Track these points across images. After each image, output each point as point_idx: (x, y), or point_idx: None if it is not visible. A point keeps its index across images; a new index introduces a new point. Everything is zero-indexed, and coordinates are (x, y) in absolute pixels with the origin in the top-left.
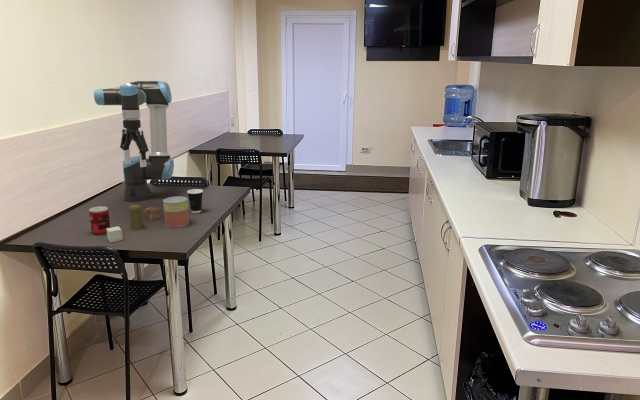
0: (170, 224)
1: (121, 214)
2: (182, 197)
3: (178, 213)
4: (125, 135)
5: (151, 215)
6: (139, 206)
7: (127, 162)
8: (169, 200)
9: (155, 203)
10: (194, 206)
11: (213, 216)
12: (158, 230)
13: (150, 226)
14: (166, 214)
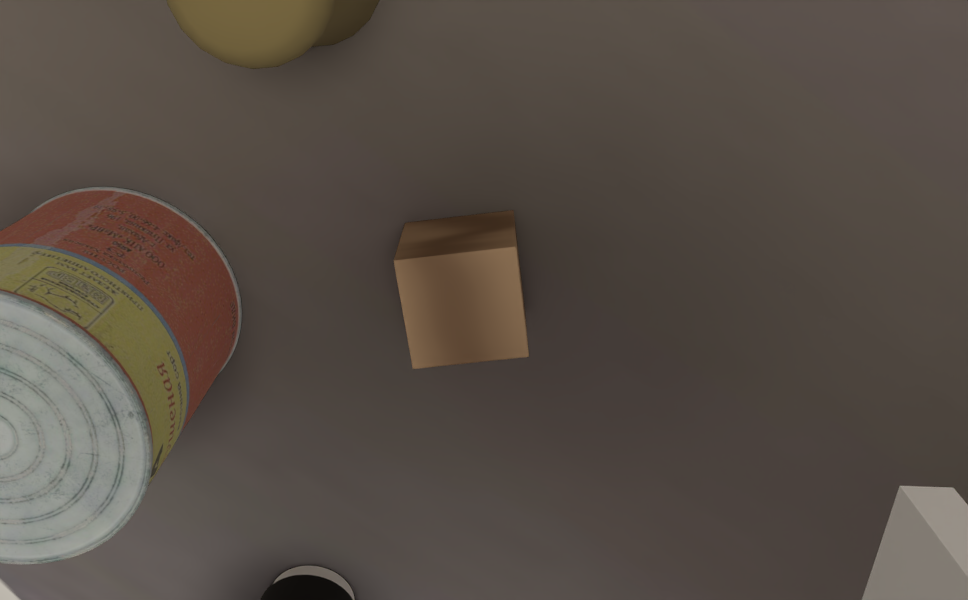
0: (47, 205)
1: (861, 144)
2: (27, 541)
3: None
4: None
5: (408, 239)
6: (177, 17)
7: (902, 583)
8: (3, 374)
9: (843, 551)
10: None
11: (80, 595)
12: (57, 58)
13: (239, 87)
14: (37, 231)
